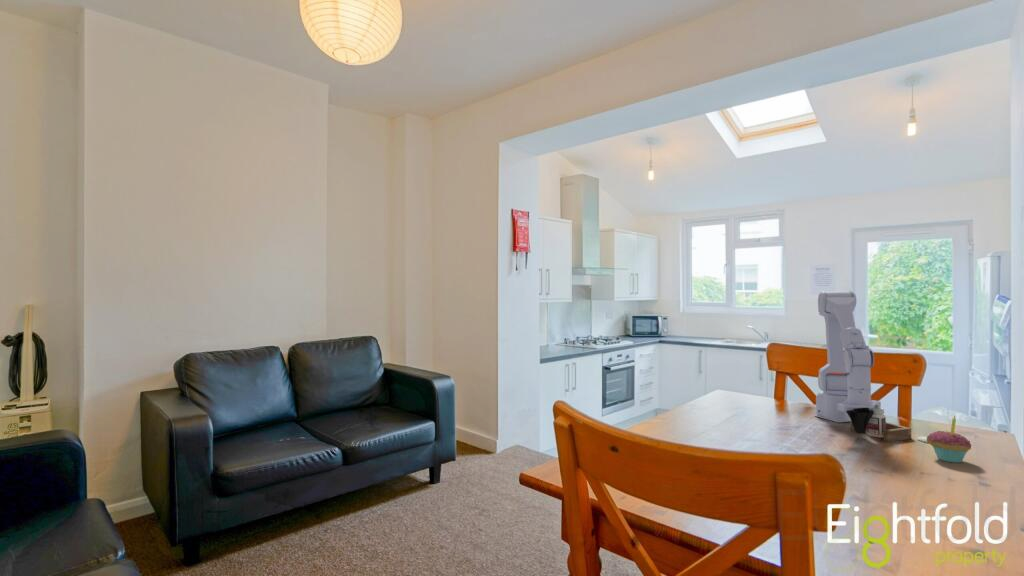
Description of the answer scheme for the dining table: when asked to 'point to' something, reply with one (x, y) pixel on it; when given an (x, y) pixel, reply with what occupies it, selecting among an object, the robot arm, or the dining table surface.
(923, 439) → the disc
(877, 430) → the pill bottle
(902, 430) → the walnut corral
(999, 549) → the dining table surface
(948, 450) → the cupcake
